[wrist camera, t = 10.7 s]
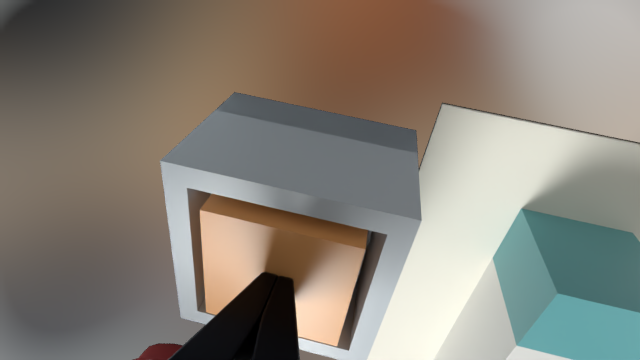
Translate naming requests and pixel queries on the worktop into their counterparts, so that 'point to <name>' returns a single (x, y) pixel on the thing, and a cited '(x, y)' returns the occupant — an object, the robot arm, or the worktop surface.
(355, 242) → the button
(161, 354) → the smoothie
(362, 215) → the button housing
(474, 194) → the paper sheet
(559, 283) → the milk carton
